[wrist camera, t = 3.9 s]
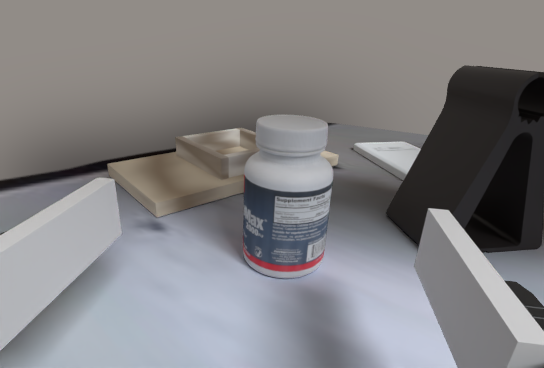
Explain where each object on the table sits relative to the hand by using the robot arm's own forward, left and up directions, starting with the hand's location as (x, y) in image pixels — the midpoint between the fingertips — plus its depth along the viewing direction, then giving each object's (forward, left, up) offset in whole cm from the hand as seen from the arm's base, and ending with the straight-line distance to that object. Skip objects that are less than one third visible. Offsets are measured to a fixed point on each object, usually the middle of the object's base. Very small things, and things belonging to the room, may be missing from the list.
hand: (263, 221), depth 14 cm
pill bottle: (-1, -6, -6) cm, 9 cm away
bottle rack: (+6, -21, -6) cm, 23 cm away
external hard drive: (-13, -29, -7) cm, 33 cm away
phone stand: (-14, -12, -6) cm, 19 cm away
